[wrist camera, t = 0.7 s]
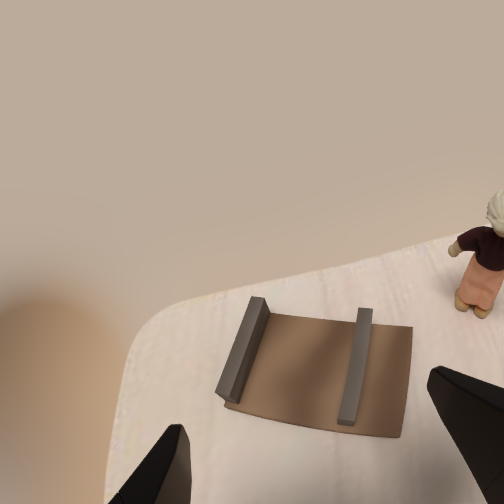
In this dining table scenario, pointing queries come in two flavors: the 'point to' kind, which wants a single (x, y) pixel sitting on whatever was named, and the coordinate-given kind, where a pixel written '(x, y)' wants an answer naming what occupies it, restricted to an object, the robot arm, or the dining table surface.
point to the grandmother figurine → (482, 261)
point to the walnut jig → (319, 371)
